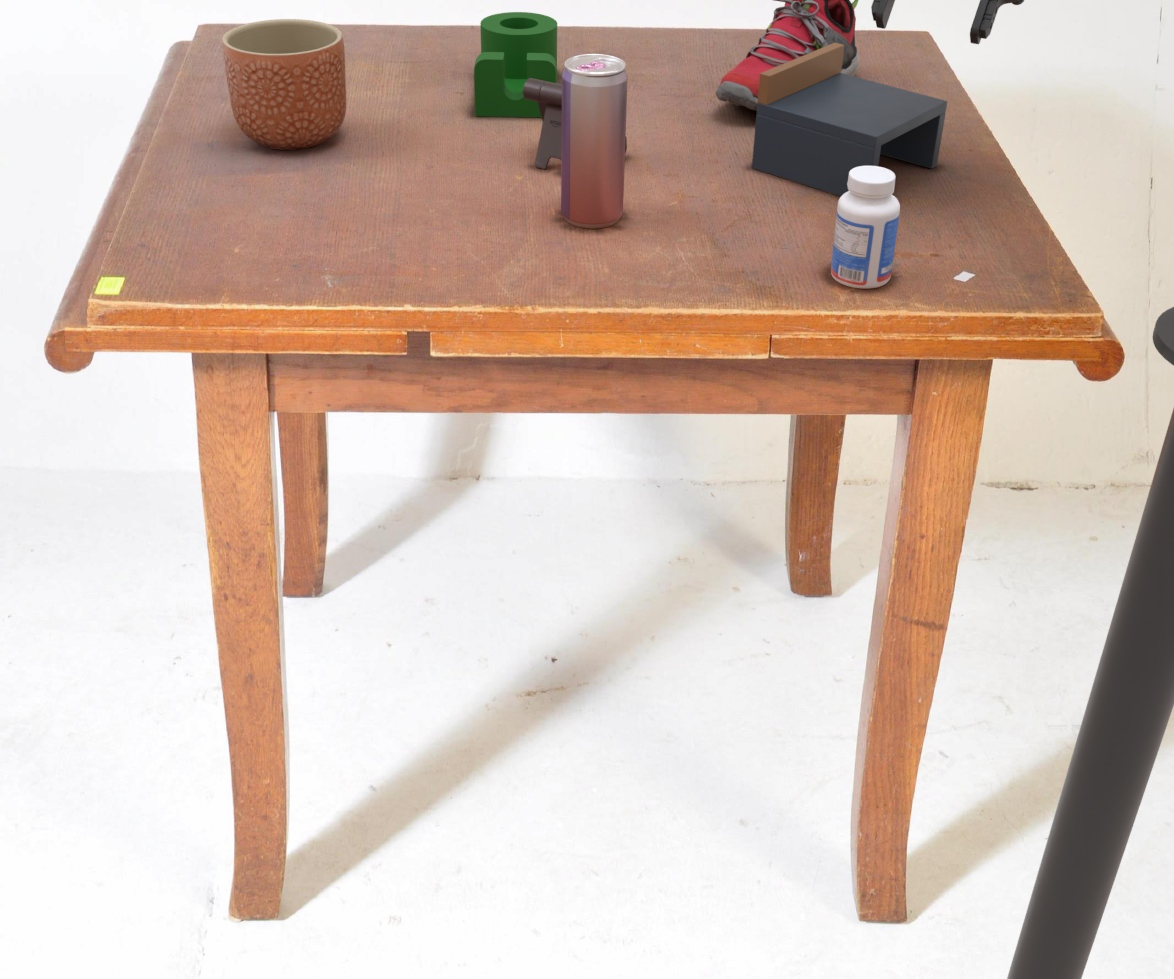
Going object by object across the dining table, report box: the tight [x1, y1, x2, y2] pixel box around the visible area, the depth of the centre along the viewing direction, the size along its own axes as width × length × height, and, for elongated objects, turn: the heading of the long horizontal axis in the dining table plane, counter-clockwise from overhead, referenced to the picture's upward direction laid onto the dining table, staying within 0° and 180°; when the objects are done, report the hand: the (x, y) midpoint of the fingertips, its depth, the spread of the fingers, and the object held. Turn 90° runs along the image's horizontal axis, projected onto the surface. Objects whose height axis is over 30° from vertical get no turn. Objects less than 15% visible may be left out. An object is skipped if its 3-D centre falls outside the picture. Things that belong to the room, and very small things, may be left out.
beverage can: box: [560, 53, 629, 230], centre depth 134 cm, size 6×6×15 cm
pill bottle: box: [830, 165, 901, 290], centre depth 126 cm, size 6×5×10 cm
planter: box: [221, 18, 347, 151], centre depth 151 cm, size 12×12×11 cm
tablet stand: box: [523, 78, 628, 170], centre depth 148 cm, size 9×8×8 cm
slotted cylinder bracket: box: [473, 11, 558, 118], centre depth 166 cm, size 18×9×6 cm, turn 0°
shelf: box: [751, 43, 948, 197], centre depth 147 cm, size 14×14×10 cm
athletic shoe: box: [715, 0, 860, 112], centre depth 164 cm, size 12×25×12 cm, turn 128°
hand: (926, 31), depth 127 cm, fingers open, 8 cm apart
